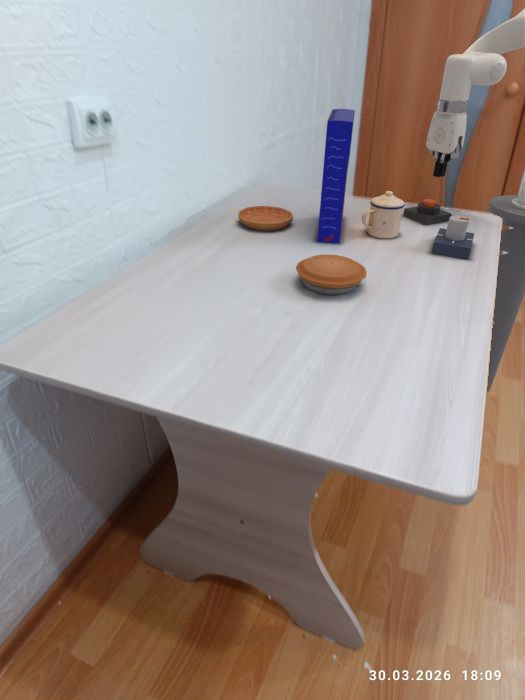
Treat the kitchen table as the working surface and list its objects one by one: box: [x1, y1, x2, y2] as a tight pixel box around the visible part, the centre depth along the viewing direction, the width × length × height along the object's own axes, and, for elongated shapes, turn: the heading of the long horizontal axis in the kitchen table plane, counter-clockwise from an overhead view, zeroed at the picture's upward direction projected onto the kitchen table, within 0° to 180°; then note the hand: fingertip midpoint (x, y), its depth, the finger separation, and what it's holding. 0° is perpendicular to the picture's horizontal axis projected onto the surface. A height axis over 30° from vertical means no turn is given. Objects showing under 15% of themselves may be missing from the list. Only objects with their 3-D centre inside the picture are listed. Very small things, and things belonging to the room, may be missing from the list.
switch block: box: [402, 201, 453, 226], centre depth 147 cm, size 10×10×4 cm
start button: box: [423, 198, 437, 207], centre depth 145 cm, size 4×4×2 cm
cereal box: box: [316, 108, 356, 244], centre depth 129 cm, size 22×6×30 cm, turn 170°
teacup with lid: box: [361, 190, 405, 239], centre depth 132 cm, size 12×9×12 cm
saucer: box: [237, 205, 294, 231], centre depth 140 cm, size 16×16×3 cm
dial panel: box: [431, 227, 475, 260], centre depth 126 cm, size 12×9×3 cm
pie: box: [295, 253, 367, 296], centre depth 106 cm, size 15×16×5 cm
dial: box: [445, 215, 470, 241], centre depth 124 cm, size 5×5×5 cm
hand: (438, 176), depth 141 cm, fingers closed
